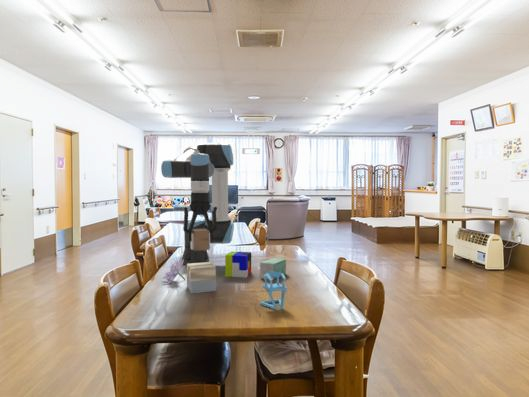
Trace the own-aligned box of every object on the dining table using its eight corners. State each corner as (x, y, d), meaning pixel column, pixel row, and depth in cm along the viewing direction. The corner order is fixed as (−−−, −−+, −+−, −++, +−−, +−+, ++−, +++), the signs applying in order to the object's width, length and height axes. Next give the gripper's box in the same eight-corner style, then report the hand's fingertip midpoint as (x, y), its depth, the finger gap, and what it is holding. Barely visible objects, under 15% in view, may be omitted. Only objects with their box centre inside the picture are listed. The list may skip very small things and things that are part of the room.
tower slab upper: (186, 275, 158) (186, 263, 157) (210, 273, 161) (210, 261, 161) (190, 281, 148) (190, 268, 148) (215, 279, 152) (215, 266, 152)
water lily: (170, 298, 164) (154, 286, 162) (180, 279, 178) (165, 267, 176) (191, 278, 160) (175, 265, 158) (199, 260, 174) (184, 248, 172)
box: (286, 273, 181) (286, 258, 181) (274, 280, 169) (274, 263, 169) (272, 272, 185) (272, 257, 184) (259, 278, 173) (259, 262, 172)
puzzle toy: (246, 277, 174) (246, 256, 173) (225, 276, 176) (225, 255, 175) (251, 272, 184) (251, 252, 183) (231, 271, 186) (231, 251, 185)
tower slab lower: (186, 287, 158) (186, 275, 158) (210, 285, 162) (210, 273, 161) (191, 293, 149) (191, 281, 148) (216, 291, 152) (216, 279, 152)
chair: (269, 311, 128) (269, 276, 127) (259, 304, 136) (260, 271, 135) (289, 308, 131) (290, 274, 130) (279, 301, 139) (279, 269, 138)
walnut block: (191, 248, 156) (191, 229, 156) (205, 247, 158) (205, 228, 158) (194, 250, 151) (194, 230, 150) (209, 249, 153) (209, 230, 152)
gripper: (177, 192, 146) (178, 251, 147) (225, 192, 153) (225, 248, 154) (175, 191, 153) (175, 248, 154) (220, 191, 160) (220, 245, 161)
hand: (200, 248), depth 154 cm, fingers closed on walnut block, 6 cm apart
